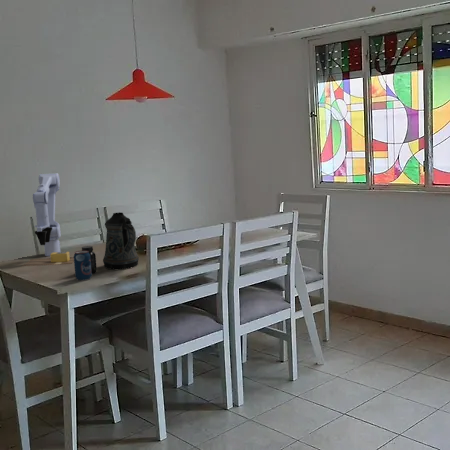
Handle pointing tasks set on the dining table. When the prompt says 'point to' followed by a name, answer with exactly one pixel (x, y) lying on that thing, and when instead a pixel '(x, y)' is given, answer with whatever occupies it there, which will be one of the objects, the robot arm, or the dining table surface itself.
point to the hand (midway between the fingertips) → (45, 243)
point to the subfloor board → (46, 262)
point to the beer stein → (120, 243)
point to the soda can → (82, 265)
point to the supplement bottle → (91, 258)
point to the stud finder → (60, 257)
